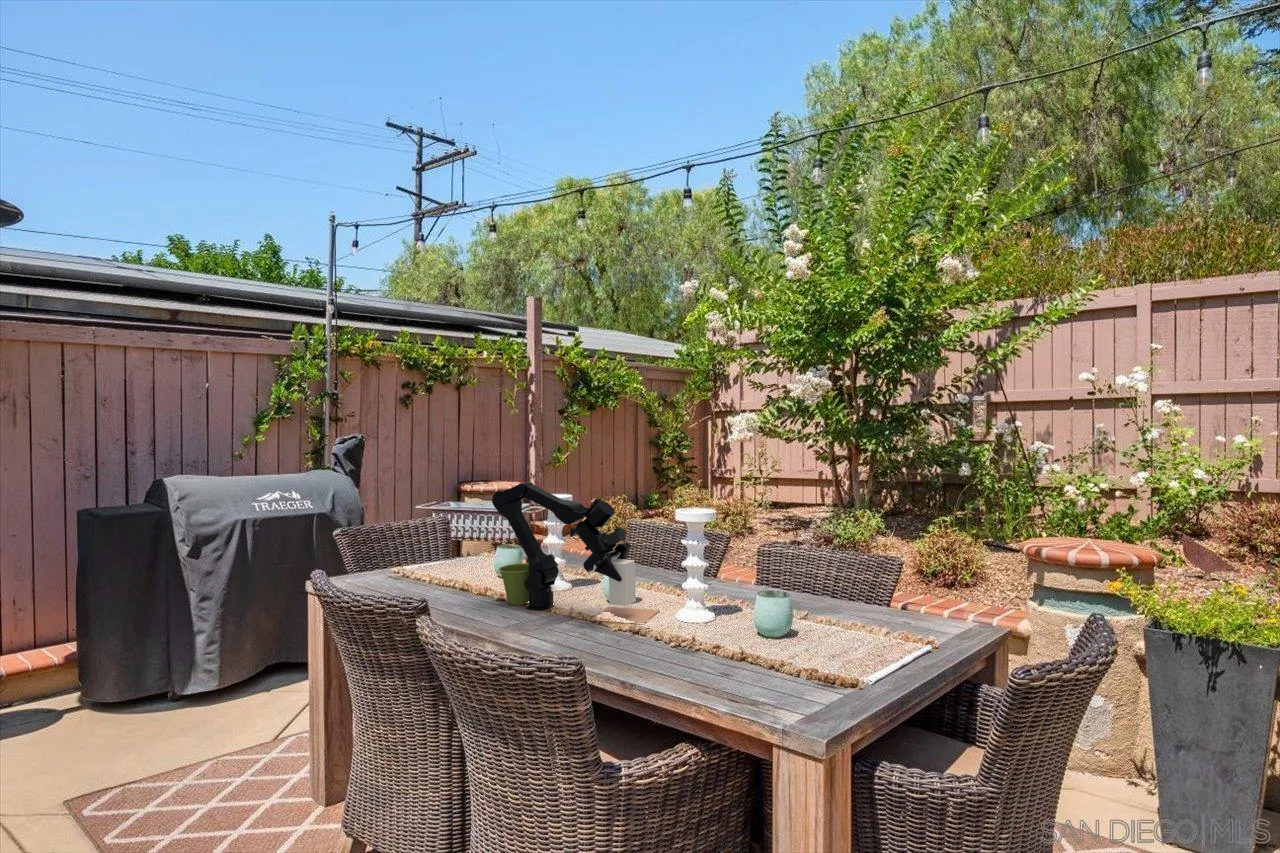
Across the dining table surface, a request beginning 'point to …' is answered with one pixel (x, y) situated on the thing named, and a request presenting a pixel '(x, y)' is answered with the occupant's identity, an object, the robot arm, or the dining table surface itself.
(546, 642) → the dining table surface
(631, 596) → the cream block
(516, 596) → the plant pot
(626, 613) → the terracotta mat
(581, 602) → the dining table surface
